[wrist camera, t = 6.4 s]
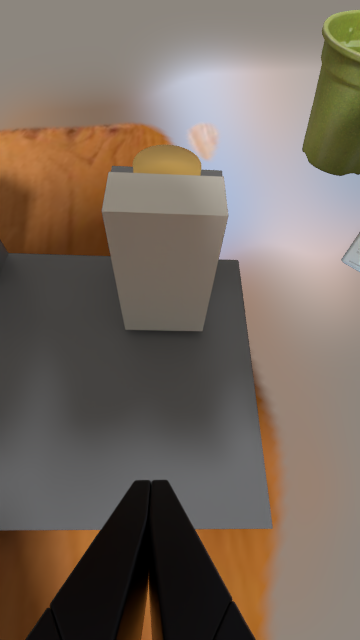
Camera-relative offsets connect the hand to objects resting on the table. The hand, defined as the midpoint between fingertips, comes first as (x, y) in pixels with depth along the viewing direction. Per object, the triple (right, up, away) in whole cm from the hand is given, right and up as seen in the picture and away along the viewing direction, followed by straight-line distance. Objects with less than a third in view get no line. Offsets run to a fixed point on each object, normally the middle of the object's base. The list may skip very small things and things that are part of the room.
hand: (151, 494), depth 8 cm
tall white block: (0, +5, +9) cm, 10 cm away
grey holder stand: (-5, +2, +9) cm, 11 cm away
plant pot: (+15, +19, +21) cm, 32 cm away
